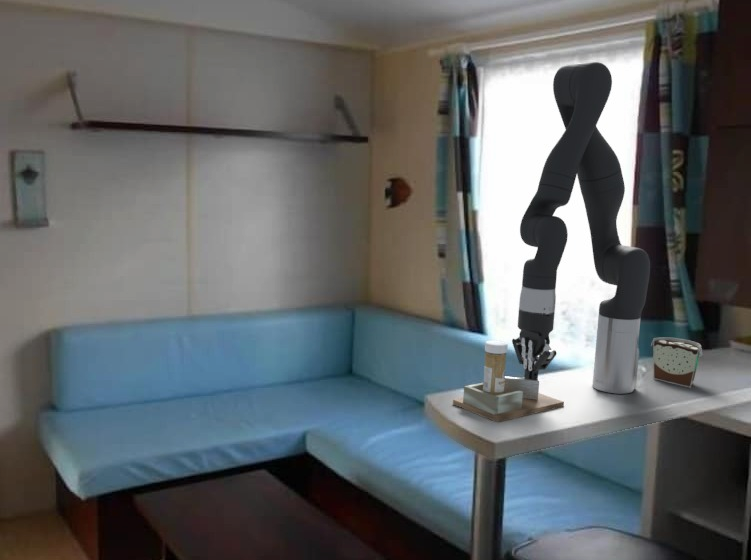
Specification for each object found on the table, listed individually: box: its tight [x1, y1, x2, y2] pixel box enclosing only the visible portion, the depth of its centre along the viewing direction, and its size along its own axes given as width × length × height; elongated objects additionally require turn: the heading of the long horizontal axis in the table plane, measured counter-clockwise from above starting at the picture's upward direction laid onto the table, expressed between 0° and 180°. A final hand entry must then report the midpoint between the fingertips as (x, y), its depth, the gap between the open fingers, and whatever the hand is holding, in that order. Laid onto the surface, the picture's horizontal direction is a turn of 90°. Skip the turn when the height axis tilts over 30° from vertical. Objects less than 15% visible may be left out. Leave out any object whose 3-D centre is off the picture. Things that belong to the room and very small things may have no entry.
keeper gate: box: [504, 375, 540, 399], centre depth 169 cm, size 11×2×4 cm, turn 79°
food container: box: [650, 336, 703, 389], centre depth 191 cm, size 12×6×10 cm, turn 44°
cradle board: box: [452, 382, 565, 423], centre depth 167 cm, size 20×13×4 cm, turn 127°
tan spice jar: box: [482, 339, 508, 396], centre depth 162 cm, size 5×5×14 cm
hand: (530, 386), depth 171 cm, fingers closed
